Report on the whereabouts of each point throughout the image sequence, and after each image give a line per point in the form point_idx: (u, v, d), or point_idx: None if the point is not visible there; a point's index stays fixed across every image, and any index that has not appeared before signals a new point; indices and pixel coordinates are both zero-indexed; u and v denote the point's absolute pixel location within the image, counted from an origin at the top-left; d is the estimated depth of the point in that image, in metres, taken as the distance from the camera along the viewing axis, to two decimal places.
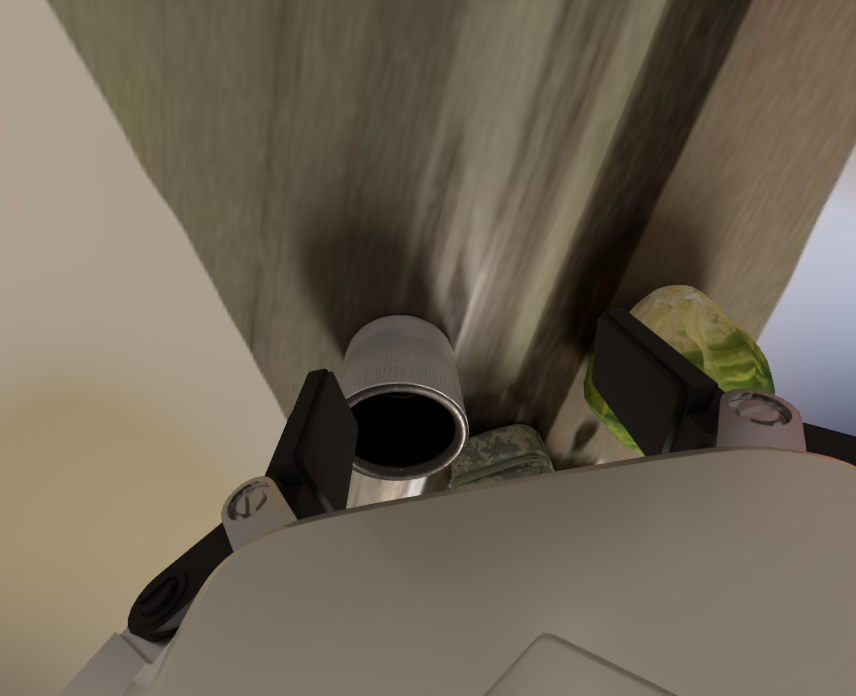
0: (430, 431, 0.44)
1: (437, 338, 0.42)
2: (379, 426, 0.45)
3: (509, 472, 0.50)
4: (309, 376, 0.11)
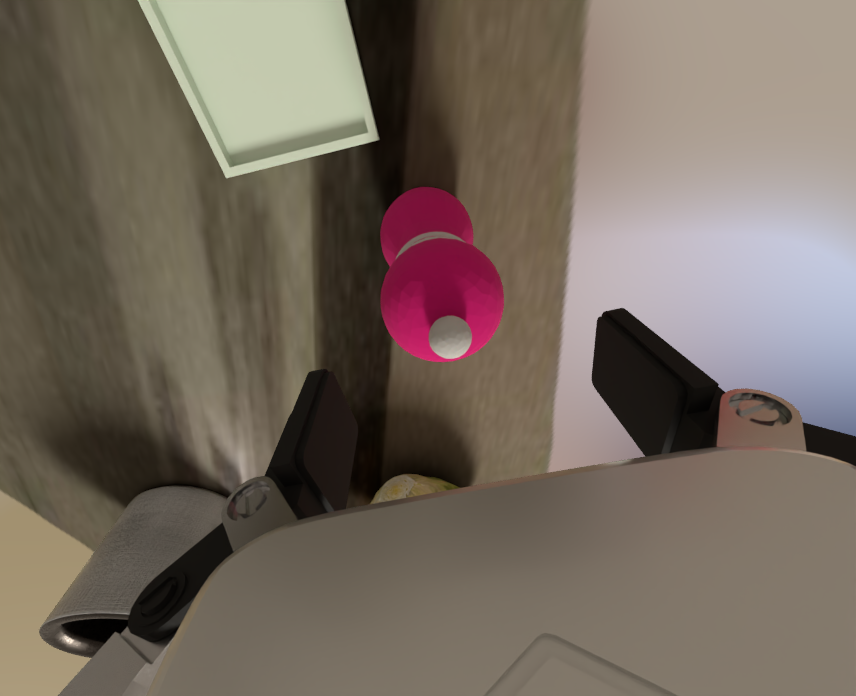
0: None
1: (196, 516, 0.44)
2: None
3: None
4: (309, 376, 0.11)
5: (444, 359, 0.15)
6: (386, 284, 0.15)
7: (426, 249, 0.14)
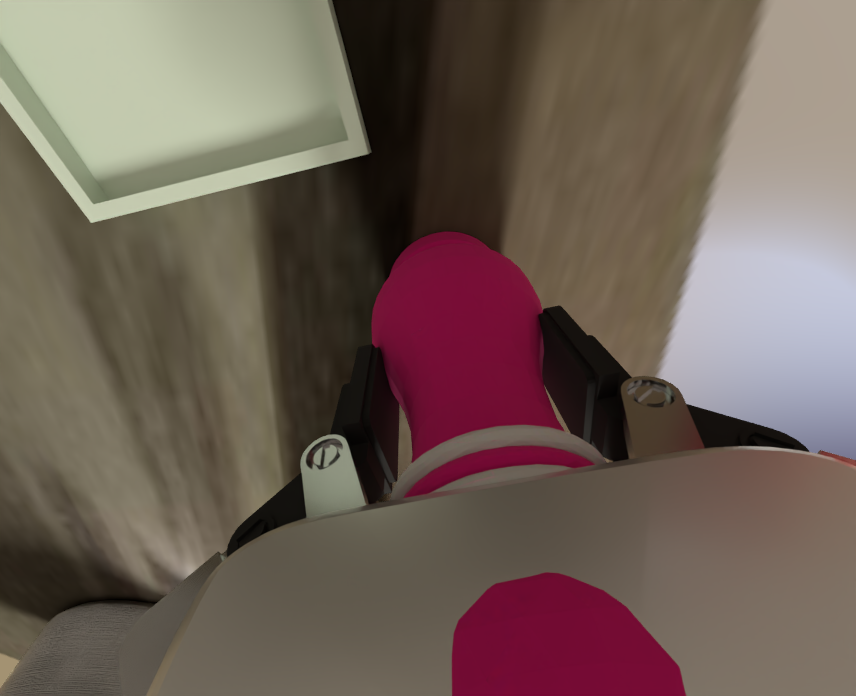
0: None
1: None
2: None
3: None
4: (360, 350, 0.11)
5: None
6: None
7: None
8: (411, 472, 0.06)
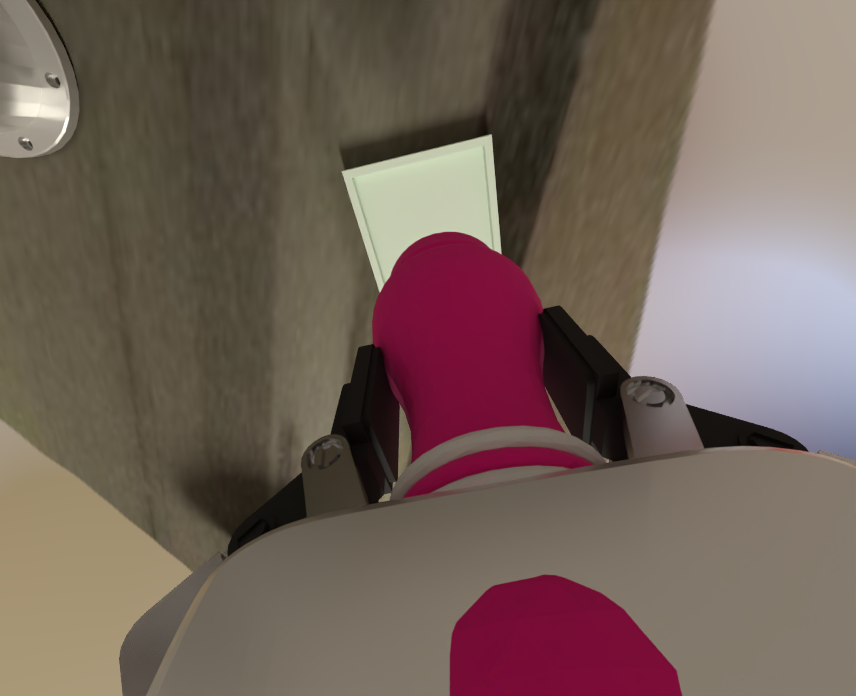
0: None
1: None
2: None
3: None
4: (360, 350, 0.11)
5: None
6: None
7: None
8: (410, 472, 0.06)
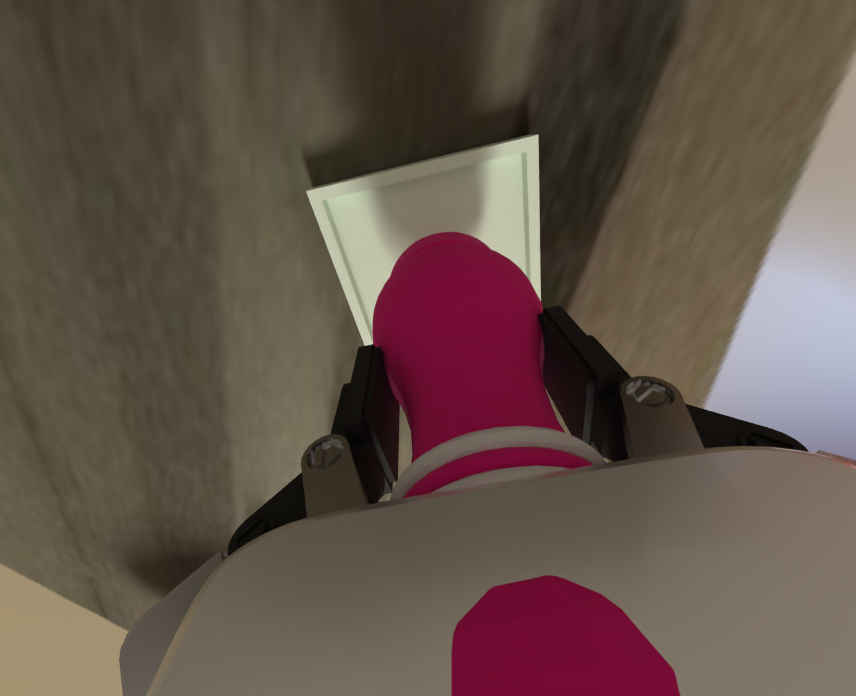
0: None
1: None
2: None
3: None
4: (360, 350, 0.11)
5: None
6: None
7: None
8: (410, 472, 0.06)
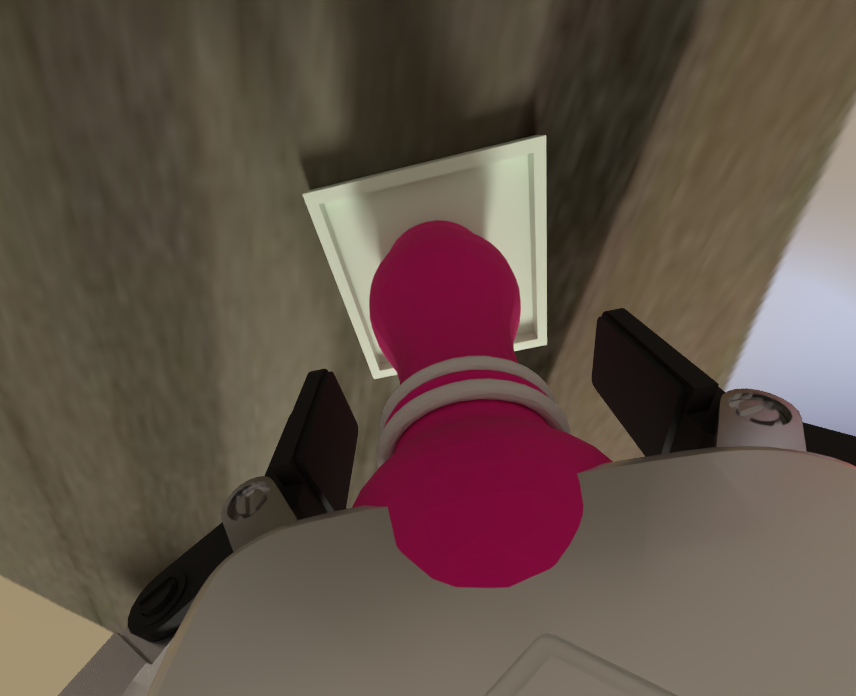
0: None
1: None
2: None
3: None
4: (309, 376, 0.11)
5: None
6: None
7: (471, 514, 0.04)
8: (396, 393, 0.08)
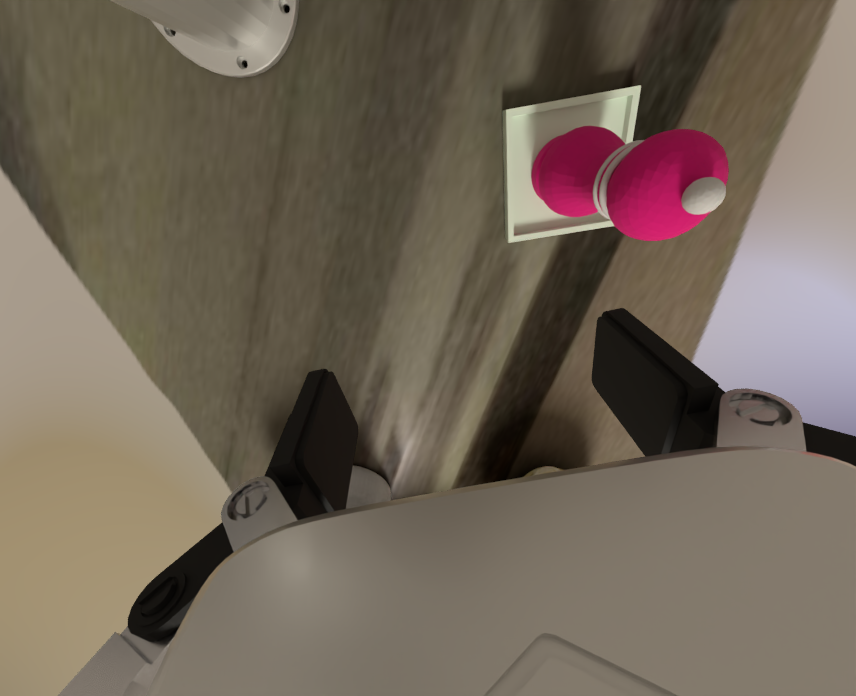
0: None
1: (372, 490, 0.54)
2: None
3: None
4: (309, 376, 0.11)
5: (668, 231, 0.19)
6: (635, 161, 0.18)
7: (678, 131, 0.18)
8: (611, 156, 0.22)
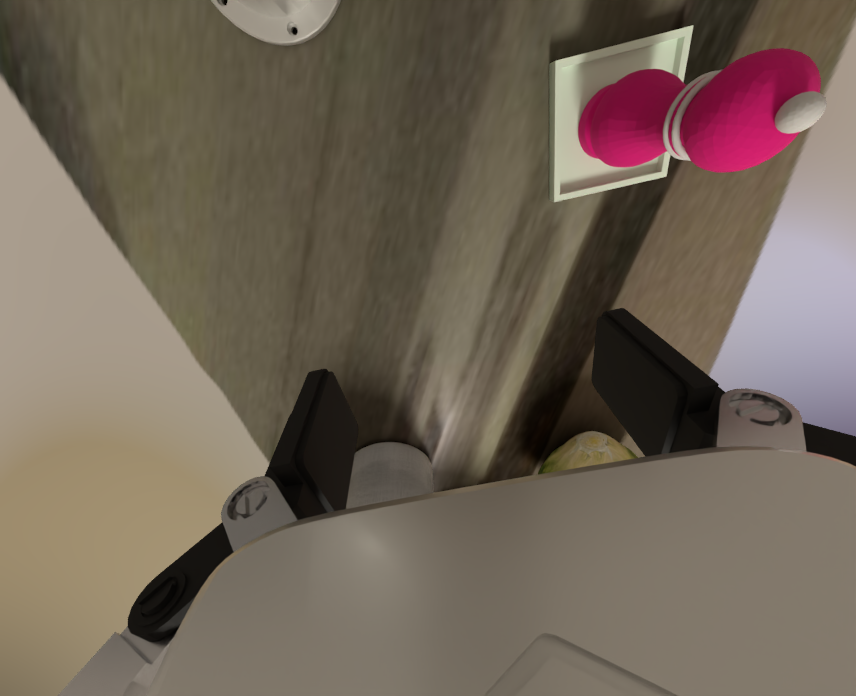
0: None
1: (416, 464, 0.55)
2: None
3: None
4: (309, 376, 0.11)
5: (755, 156, 0.19)
6: (723, 86, 0.18)
7: (768, 50, 0.17)
8: (684, 90, 0.21)
